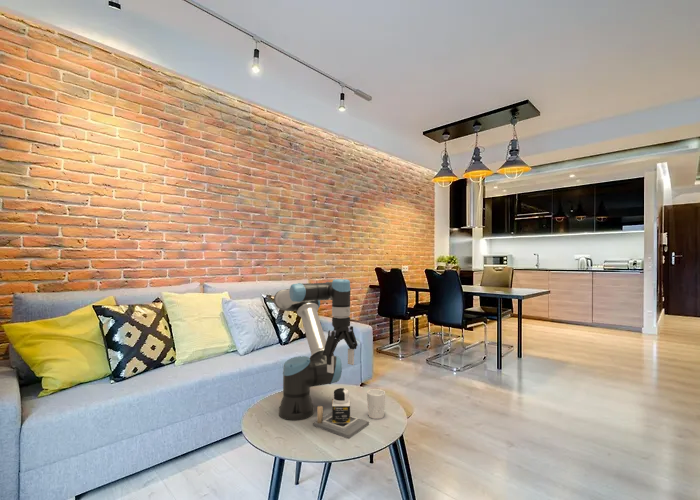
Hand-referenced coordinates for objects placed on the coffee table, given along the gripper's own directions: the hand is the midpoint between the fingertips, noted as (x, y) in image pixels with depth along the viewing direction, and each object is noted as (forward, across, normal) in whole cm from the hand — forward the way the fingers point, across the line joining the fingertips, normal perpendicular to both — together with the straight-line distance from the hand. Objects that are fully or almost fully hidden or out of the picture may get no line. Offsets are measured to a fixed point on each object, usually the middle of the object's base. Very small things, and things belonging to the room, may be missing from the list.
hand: (340, 368), depth 145 cm
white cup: (+23, +15, -8) cm, 28 cm away
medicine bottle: (+20, -1, -1) cm, 20 cm away
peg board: (+22, -1, -1) cm, 22 cm away
